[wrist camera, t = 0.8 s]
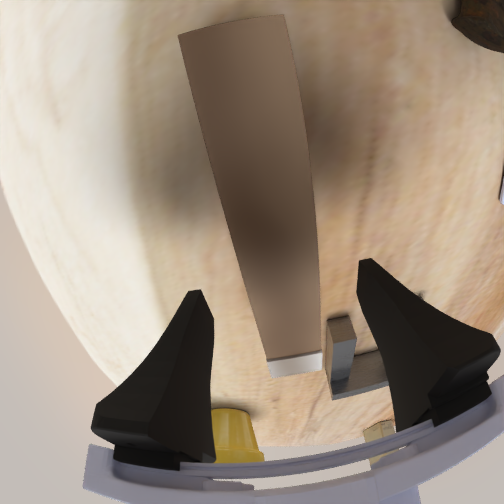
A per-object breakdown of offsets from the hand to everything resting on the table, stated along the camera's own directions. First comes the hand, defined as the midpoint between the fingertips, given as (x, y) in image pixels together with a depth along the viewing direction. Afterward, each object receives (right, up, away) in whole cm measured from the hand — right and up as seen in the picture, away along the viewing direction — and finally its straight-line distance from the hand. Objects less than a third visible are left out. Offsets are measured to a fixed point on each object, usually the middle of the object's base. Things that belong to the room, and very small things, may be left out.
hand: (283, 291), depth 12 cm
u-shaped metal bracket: (+10, -7, +12) cm, 18 cm away
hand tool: (+13, +23, -9) cm, 28 cm away
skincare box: (+27, -38, +36) cm, 59 cm away
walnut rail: (0, +4, +4) cm, 6 cm away
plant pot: (-5, -22, +23) cm, 32 cm away
